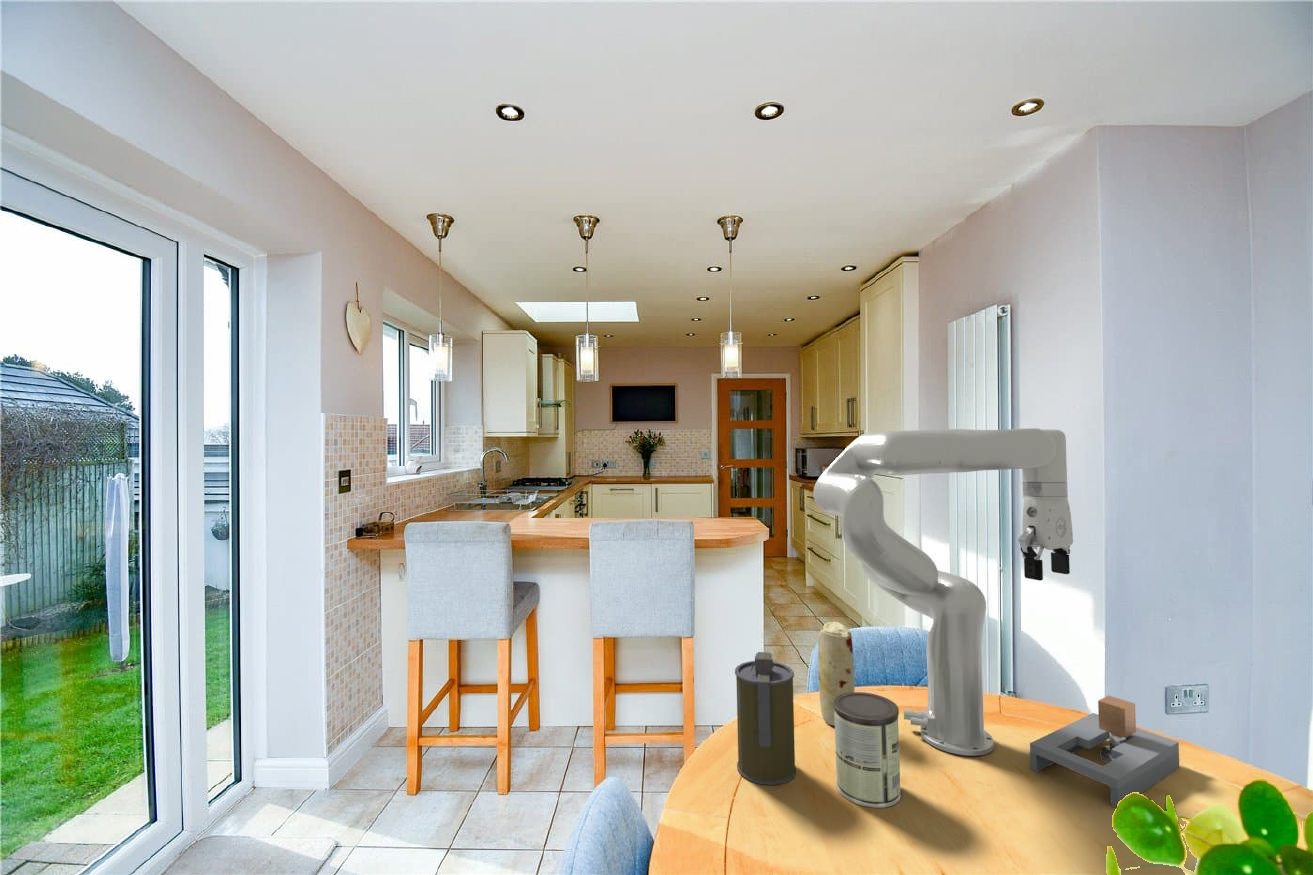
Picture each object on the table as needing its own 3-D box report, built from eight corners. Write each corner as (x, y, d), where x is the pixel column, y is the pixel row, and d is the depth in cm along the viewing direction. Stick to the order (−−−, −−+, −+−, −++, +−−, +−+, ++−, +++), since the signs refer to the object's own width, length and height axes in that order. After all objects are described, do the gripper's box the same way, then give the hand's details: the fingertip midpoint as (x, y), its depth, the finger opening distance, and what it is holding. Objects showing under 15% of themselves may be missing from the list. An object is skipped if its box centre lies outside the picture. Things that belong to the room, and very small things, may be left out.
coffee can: (836, 768, 103) (834, 688, 103) (899, 777, 100) (896, 695, 100) (834, 802, 93) (832, 714, 94) (903, 814, 90) (901, 722, 90)
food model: (863, 731, 116) (860, 631, 116) (831, 733, 115) (828, 632, 116) (843, 709, 126) (841, 617, 126) (813, 711, 125) (811, 618, 125)
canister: (738, 751, 110) (736, 644, 110) (795, 755, 107) (792, 647, 108) (734, 784, 99) (732, 666, 99) (797, 790, 97) (794, 669, 97)
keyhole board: (1118, 808, 90) (1117, 779, 90) (1030, 769, 101) (1029, 743, 102) (1179, 768, 101) (1178, 741, 101) (1093, 736, 112) (1093, 712, 112)
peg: (1128, 772, 100) (1126, 710, 100) (1095, 758, 104) (1093, 700, 104) (1141, 763, 102) (1139, 704, 103) (1108, 751, 107) (1106, 693, 107)
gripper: (1040, 494, 109) (1043, 585, 109) (1088, 489, 117) (1090, 574, 117) (1000, 492, 116) (1003, 578, 115) (1048, 487, 124) (1050, 567, 124)
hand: (1047, 576), depth 116 cm, fingers open, 9 cm apart
